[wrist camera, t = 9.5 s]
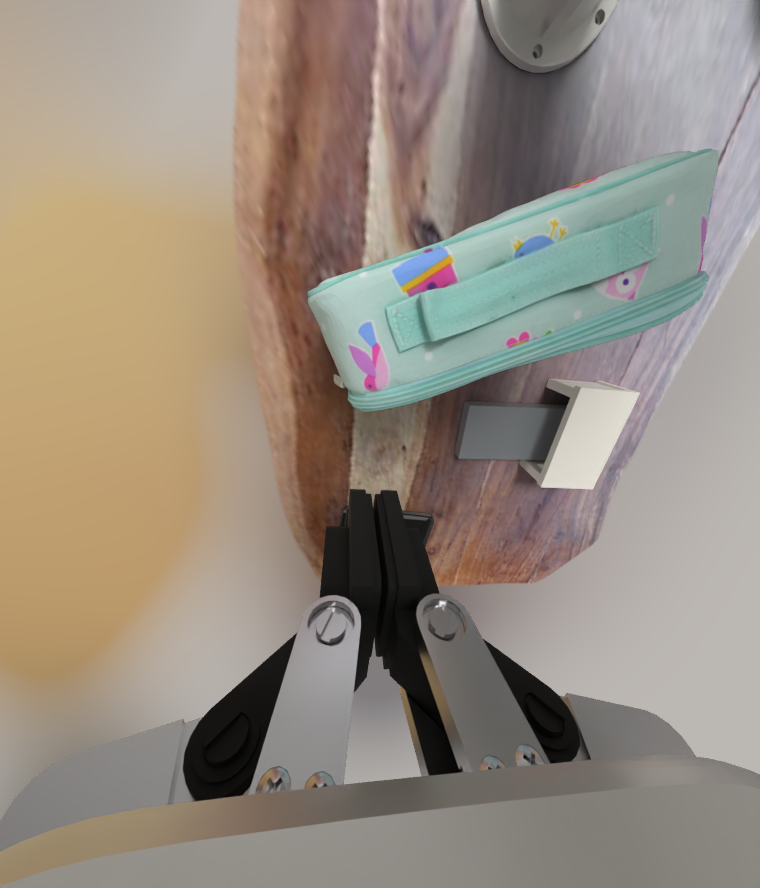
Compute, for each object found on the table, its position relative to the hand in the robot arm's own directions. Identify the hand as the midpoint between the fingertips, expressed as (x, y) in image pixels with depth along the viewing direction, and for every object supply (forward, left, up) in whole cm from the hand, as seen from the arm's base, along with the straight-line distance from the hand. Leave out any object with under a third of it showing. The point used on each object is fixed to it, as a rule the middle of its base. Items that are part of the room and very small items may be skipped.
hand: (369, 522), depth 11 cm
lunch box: (-8, +9, -29) cm, 32 cm away
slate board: (+7, +24, -30) cm, 39 cm away
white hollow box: (+6, +30, -29) cm, 42 cm away
